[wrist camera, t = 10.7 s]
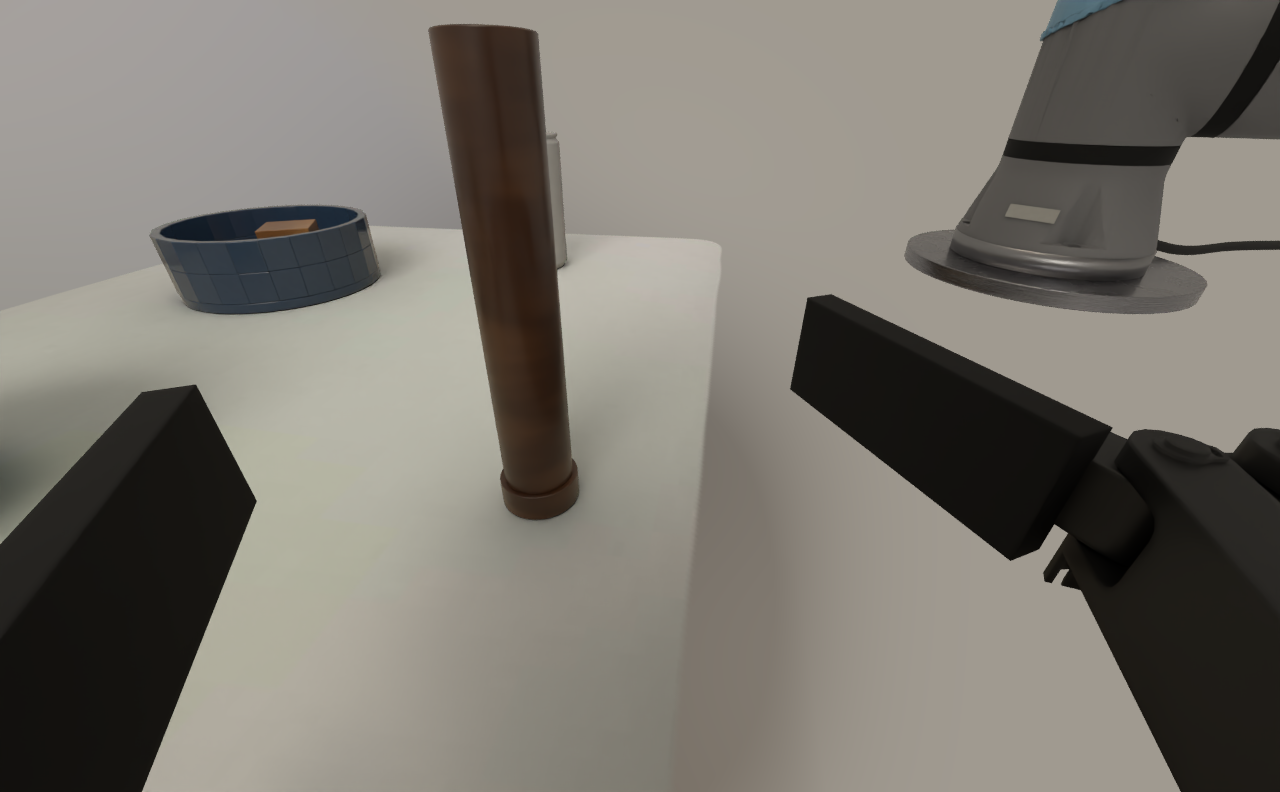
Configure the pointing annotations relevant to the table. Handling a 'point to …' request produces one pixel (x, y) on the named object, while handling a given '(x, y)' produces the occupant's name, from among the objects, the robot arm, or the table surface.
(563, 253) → the beverage can
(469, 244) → the muddler
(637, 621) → the table surface
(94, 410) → the table surface
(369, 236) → the bowl
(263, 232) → the block
